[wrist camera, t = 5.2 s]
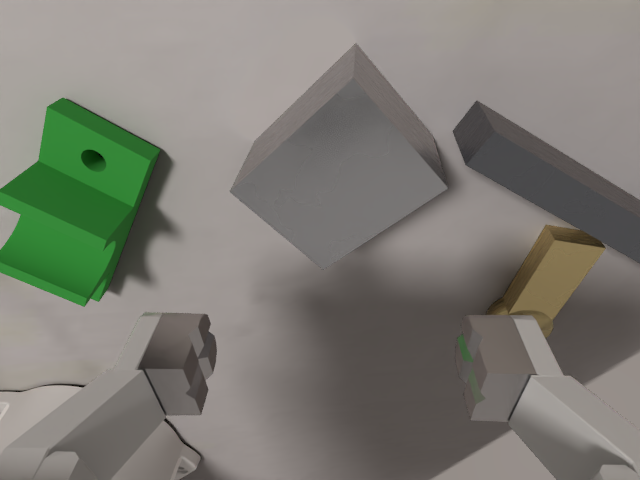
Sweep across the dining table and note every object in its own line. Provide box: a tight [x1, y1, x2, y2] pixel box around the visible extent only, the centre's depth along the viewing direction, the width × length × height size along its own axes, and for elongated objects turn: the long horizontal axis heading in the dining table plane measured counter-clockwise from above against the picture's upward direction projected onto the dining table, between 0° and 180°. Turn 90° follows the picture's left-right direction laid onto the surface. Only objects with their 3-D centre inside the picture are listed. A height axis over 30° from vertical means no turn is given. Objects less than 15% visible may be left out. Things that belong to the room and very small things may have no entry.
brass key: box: [487, 225, 606, 339], centre depth 22 cm, size 8×3×1 cm, turn 172°
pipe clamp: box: [0, 98, 160, 307], centre depth 20 cm, size 11×4×5 cm
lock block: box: [230, 43, 448, 270], centre depth 16 cm, size 6×5×4 cm
